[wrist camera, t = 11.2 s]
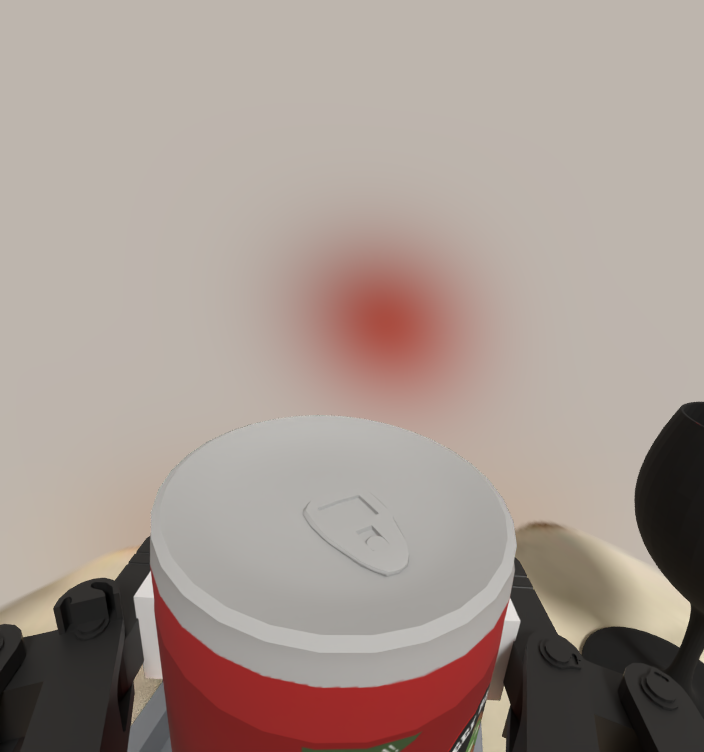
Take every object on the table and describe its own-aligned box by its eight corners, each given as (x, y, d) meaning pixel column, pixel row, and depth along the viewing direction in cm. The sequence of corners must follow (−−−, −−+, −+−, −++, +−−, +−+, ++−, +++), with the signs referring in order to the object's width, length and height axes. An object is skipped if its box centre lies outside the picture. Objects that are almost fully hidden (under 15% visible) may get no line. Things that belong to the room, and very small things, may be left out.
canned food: (310, 1201, 7) (348, 830, 3) (137, 783, 12) (85, 470, 8) (491, 787, 12) (572, 491, 9) (320, 623, 17) (332, 395, 14)
